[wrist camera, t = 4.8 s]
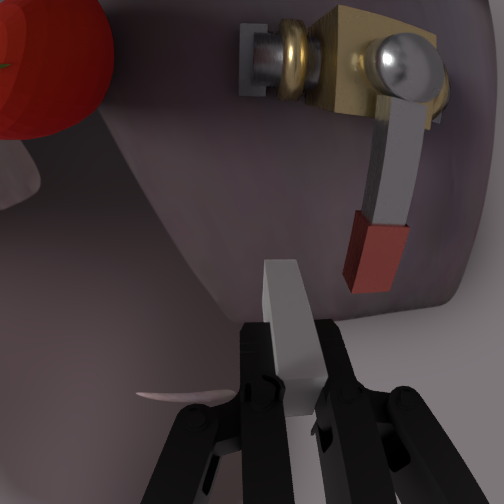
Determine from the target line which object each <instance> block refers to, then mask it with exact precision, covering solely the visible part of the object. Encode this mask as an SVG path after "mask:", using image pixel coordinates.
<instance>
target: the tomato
mask: <svg viewBox="0 0 504 504" xmlns="http://www.w3.org/2000/svg"><path fill="white" fill-rule="evenodd" d="M114 55H115V54H114V41H113V36H112V31H111V27H110V25H109V22H108V20H107V17H106V15H105V13H104V11H103V9H102V7H101V5H100V4H99V2H98V0H4V1H3V2H1V3H0V139H1V140H26V139H33V138H38V137H43V136H47V135H51V134H55V133H57V132H59V131H62V130H64V129H66V128H68V127H70V126H73V125H75V124H77V123H79V122H80V121H82V120H83V119H84V118H86V117H87V116H89V115H90V114H91V113H93V112H94V111H95V110H96V108H97V107H98V106H99V105H100V103H101V102H102V101H103V99H104V97H105V94H106V92H107V90H108V88H109V86H110V82H111V78H112V74H113V71H114Z"/></svg>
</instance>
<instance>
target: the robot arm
mask: <svg viewBox="0 0 504 504" xmlns="http://www.w3.org/2000/svg"><path fill="white" fill-rule="evenodd" d="M262 307H263V317H264V322H250V323H244V325H243V327H242V329H241V331H240V390H239V392H238V394H237V395H236V396H235V397H234V398H233V399H232V400H231V401H229V402H227V403H224V404H221V405H218V406H214V407H209V406H206V405H204V404H191V405H188V406H186V407H184V408H183V409H181V410H180V412H179V413H178V415H177V416H176V419H175V421H174V423H173V426H172V428H171V431H170V433H169V435H168V438H167V440H166V443H165V445H164V447H163V450H162V452H161V455H160V457H159V459H158V462H157V464H156V467H155V469H154V472H153V474H152V477H151V479H150V481H149V484H148V486H147V489H146V491H145V494H144V496H143V499H142V501H141V503H140V504H208V501H209V498H210V495H211V492H212V489H213V485H214V482H215V479H216V476H217V473H218V469H219V466H220V463H221V459H222V456H223V455H226V454H230V453H233V452H236V451H240V450H242V481H243V504H295V501H294V493H293V483H292V474H291V466H290V456H289V448H288V440H287V431H286V422H285V417H291V416H303V415H312V414H313V412H314V409H315V412H316V417H317V419H316V422H315V424H314V426H313V428H312V430H311V435H314V433H315V434H316V439H317V445H318V452H319V458H320V464H321V470H322V477H323V484H324V490H325V497H326V504H397V500H396V496H395V493H396V494H397V496H398V498H399V500H400V502H401V504H489V502H488V500H487V499H486V497H485V495H484V493H483V492H482V490H481V488H480V487H479V485H478V483H477V482H476V480H475V478H474V477H473V475H472V473H471V472H470V470H469V468H468V467H467V465H466V464H465V462H464V460H463V459H462V457H461V456H460V454H459V453H458V451H457V449H456V448H455V446H454V445H453V443H452V442H451V440H450V439H449V437H448V435H447V434H446V432H445V431H444V429H443V428H442V426H441V425H440V424H439V422H438V421H437V419H436V418H435V416H434V415H433V414H432V412H431V410H430V409H429V407H428V406H427V405H426V403H425V402H424V400H423V399H422V397H421V396H420V394H419V393H418V392H416V390H415V389H413V388H411V387H409V386H400V387H396V388H395V389H394V390H392V391H391V393H387V392H379V391H372V390H369V389H367V388H365V387H364V386H363V385H362V384H361V383H360V382H358V381H357V379H356V377H355V375H354V371H353V368H352V365H351V362H350V359H349V356H348V353H347V350H346V348H345V344H344V341H343V339H342V335H341V332H340V330H339V327H338V326H337V325H336V324H335V323H334V322H333V321H332V319H321V320H313V317H312V313H311V309H310V306H309V302H308V299H307V295H306V292H305V288H304V285H303V281H302V278H301V274H300V271H299V267H298V264H297V261H296V259H295V260H265V261H264V280H263V298H262Z"/></svg>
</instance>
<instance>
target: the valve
mask: <svg viewBox="0 0 504 504" xmlns="http://www.w3.org/2000/svg"><path fill="white" fill-rule="evenodd" d="M267 28H268V24H251V23H240V47H239V96H266V86H267V87H276V92H277V97H278V99H279V100H288V101H298V100H299V98H300V96H301V94H302V90H303V89H306V100H305V104H307V105H311V106H314V107H318V108H322V109H325V110H329V111H332V112H337V113H344V114H352V115H358V116H365V117H371V118H375V112H376V101H377V95H383V94H381V93H380V92H379V91H377V90H376V89H375V88H374V87H373V85H372V84H371V83H370V81H369V79H368V78H367V75H366V73H365V69H364V55H365V52H366V49H367V48H368V46H369V45H370V44H371V43H372V42H373V41H374V40H376V39H379V38H382V37H386V36H390V35H395V34H399V33H405V32H409V33H415V34H418V35H420V36H422V37H424V38H425V39H426V40H428V41H429V42H430V43H431V44H432V45H433V46H434V47H435V49H436V35H435V34H432V33H430V32H427V31H425V30H422V29H420V28H417V27H415V26H412V25H409V24H406V23H404V22H401V21H398V20H395V19H392V18H388V17H385V16H382V15H379V14H375V13H371V12H368V11H364V10H360V9H356V8H351V7H347V6H342V5H337V6H336V7H334V8H333V9H332V10H331V11H329V12H328V13H327V14H325V15H324V16H323V17H321V18H320V19H319V20H318V21H316V22H315V23H314V24H313V25H311V26H310V27H309V28H308V36H307V34H306V29H305V25H304V23H303V21H301V20H294V19H282V20H281V23H280V26H279V31H278V33H267ZM442 63H443V62H442ZM443 66H444V84H443V87H442V89H441V91H440V93H439V94H438V96H436V97H435V98H434V99H433V100H431V101H429V102H425V103H418V104H422V105H425V106H427V112H426V121H425V129H428V130H430V127H431V122H435V123H438V124H441V116H442V111H443V110H444V109H445V108H446V106H447V104H448V102H449V99H450V83H449V79H448V74H447V71H446V68H445V64H444V63H443ZM384 96H385V95H384ZM411 102H412V101H411ZM415 103H417V102H415Z"/></svg>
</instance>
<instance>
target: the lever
mask: <svg viewBox="0 0 504 504" xmlns="http://www.w3.org/2000/svg"><path fill="white" fill-rule="evenodd" d="M364 69H365V73H366V75H367V78H368V79H369V81H370V83H371V84H372V85H373V87H374V88H375V89H376V90H377V91H379V92H380V93H381V94H383V95H377V101H376V112H375V122H374V131H373V139H372V147H371V154H370V162H369V168H368V175H367V181H366V187H365V193H364V198H363V204H362V209H361V211H360V210H356V211H355V217H354V222H353V227H352V232H351V237H350V242H349V247H348V251H347V256H346V260H345V264H344V269H343V273H342V274H343V276H344V279H345V281H346V283H347V285H348V287H349V289H350V292H351V293H369V292H386V291H390V288H391V285H392V283H393V280H394V277H395V274H396V271H397V268H398V265H399V262H400V259H401V256H402V253H403V250H404V246H405V243H406V240H407V236H408V233H409V229H410V227H409V226H408V225H407V224H406V219H407V215H408V211H409V207H410V203H411V199H412V195H413V190H414V185H415V181H416V176H417V171H418V166H419V160H420V154H421V149H422V142H423V136H424V129H425V121H426V112H427V106H425V105H422V104H418V103H425V102H429V101H431V100H433V99H434V98H435V97H436V96H438V94H439V93H440V91H441V89H442V87H443V84H444V66H443V63H442V60H441V57H440V55H439V53H438V52H437V50H436V49H435V47H434V46H433V45H432V44H431V43H430V42H429V41H428V40H426V39H425V38H424V37H422V36H420V35H418V34H415V33H409V32H405V33H399V34H395V35H390V36H386V37H382V38H379V39H376V40H374V41H373V42H372V43H371V44H370V45H369V46H368V48H367V49H366V52H365V55H364ZM384 95H385V96H384ZM411 101H412V102H411ZM415 102H417V103H415Z"/></svg>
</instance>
